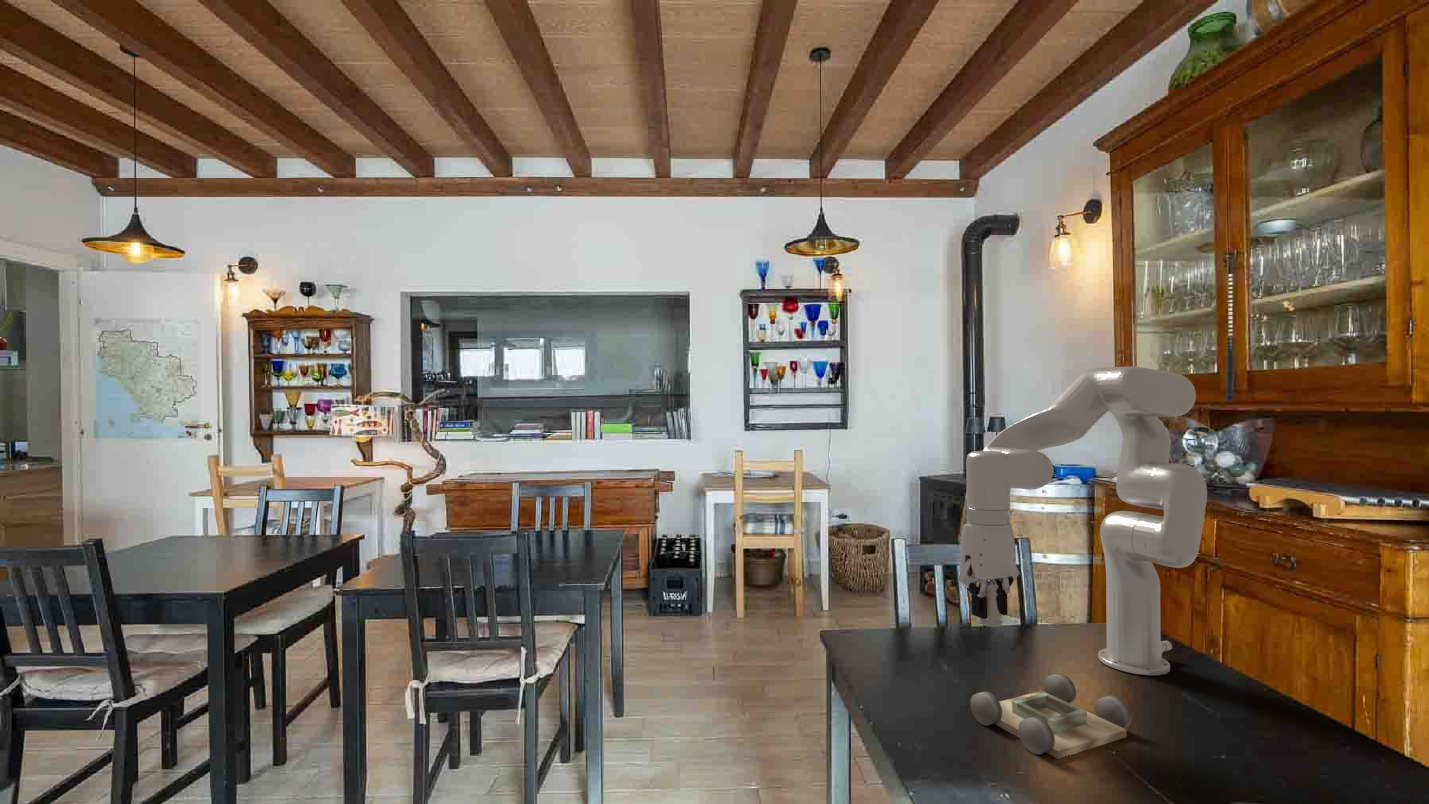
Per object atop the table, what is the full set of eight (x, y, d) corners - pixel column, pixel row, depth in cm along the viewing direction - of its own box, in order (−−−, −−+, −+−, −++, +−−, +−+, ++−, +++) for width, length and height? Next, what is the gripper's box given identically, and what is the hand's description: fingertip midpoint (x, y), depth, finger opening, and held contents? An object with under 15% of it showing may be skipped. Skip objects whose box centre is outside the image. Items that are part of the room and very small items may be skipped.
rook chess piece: (1005, 628, 120) (1004, 584, 120) (979, 626, 121) (978, 583, 121) (999, 620, 124) (999, 577, 124) (974, 618, 125) (974, 576, 125)
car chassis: (1049, 695, 122) (1049, 668, 122) (1134, 734, 108) (1134, 703, 108) (968, 716, 114) (968, 687, 114) (1048, 762, 99) (1048, 729, 99)
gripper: (1005, 510, 129) (1006, 603, 129) (938, 517, 123) (940, 615, 123) (1038, 516, 122) (1039, 614, 122) (968, 524, 116) (970, 627, 116)
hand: (989, 613), depth 123 cm, fingers closed on rook chess piece, 4 cm apart
